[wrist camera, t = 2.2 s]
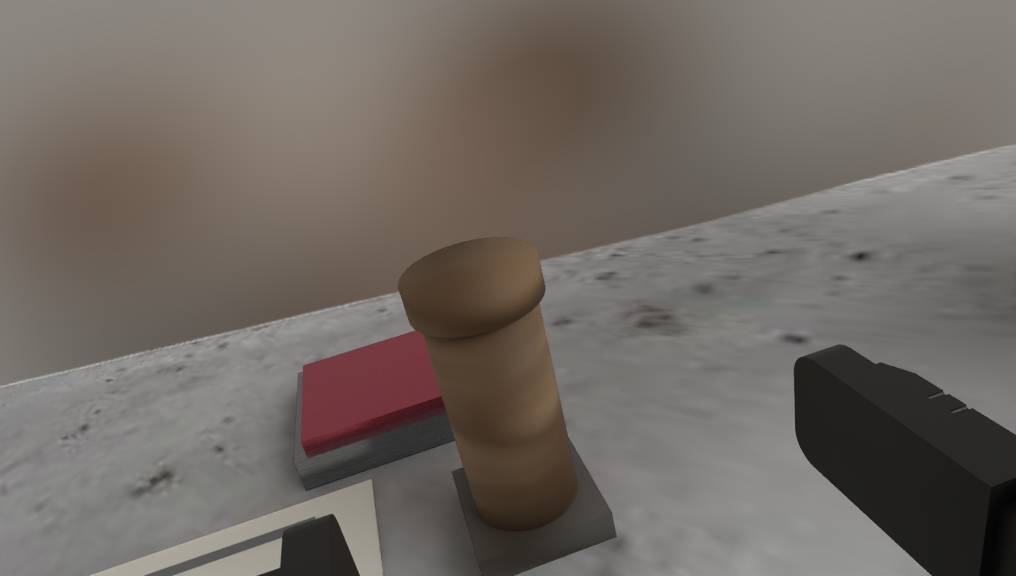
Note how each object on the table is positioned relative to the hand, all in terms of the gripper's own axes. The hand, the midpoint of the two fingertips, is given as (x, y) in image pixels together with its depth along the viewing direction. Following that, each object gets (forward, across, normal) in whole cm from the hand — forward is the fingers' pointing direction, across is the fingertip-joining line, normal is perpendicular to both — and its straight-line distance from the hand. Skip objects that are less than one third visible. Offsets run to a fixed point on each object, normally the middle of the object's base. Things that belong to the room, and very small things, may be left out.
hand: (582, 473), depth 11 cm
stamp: (+12, 0, +11) cm, 16 cm away
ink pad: (+22, +5, +11) cm, 25 cm away
